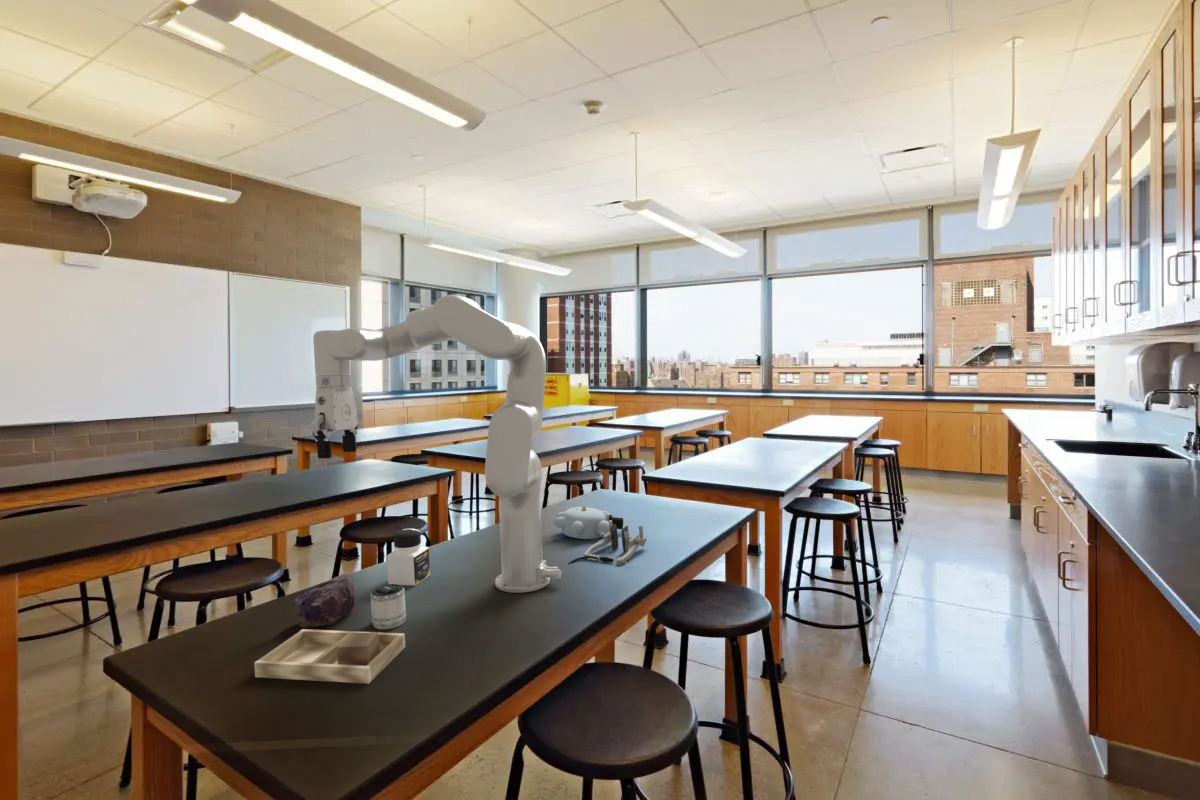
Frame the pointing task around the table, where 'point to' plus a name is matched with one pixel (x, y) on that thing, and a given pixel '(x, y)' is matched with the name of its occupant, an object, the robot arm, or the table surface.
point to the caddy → (325, 658)
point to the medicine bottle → (408, 559)
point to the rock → (325, 602)
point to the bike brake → (616, 544)
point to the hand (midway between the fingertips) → (337, 454)
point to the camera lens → (388, 606)
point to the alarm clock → (585, 522)
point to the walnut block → (358, 649)
